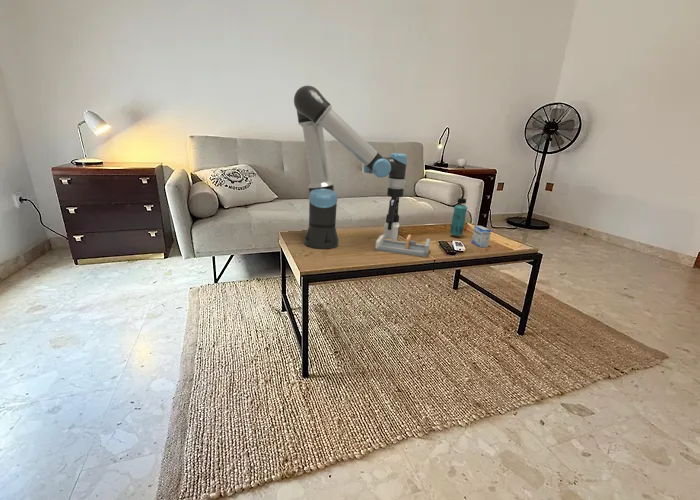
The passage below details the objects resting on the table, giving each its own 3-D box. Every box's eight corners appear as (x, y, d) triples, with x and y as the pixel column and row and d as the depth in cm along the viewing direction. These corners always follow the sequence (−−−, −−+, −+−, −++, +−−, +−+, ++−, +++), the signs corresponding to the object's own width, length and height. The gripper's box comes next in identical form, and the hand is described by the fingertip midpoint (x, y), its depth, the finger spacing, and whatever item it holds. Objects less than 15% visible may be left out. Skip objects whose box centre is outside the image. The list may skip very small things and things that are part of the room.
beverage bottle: (450, 234, 183) (456, 196, 177) (463, 236, 181) (469, 198, 175) (448, 237, 178) (454, 198, 172) (461, 239, 175) (468, 200, 169)
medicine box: (470, 242, 171) (473, 225, 168) (479, 242, 172) (482, 225, 169) (479, 247, 163) (483, 229, 161) (488, 247, 164) (491, 229, 162)
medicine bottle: (397, 241, 165) (400, 216, 161) (382, 239, 166) (384, 215, 162) (398, 237, 171) (401, 213, 168) (384, 235, 172) (386, 212, 169)
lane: (375, 250, 149) (376, 239, 147) (380, 242, 160) (381, 232, 158) (426, 257, 144) (428, 246, 142) (428, 249, 155) (430, 238, 153)
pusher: (405, 250, 147) (406, 239, 146) (407, 245, 155) (408, 234, 153) (414, 251, 146) (415, 240, 145) (416, 246, 154) (417, 235, 152)
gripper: (400, 191, 149) (395, 240, 156) (406, 185, 171) (402, 228, 177) (383, 189, 151) (378, 238, 158) (391, 184, 172) (387, 227, 179)
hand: (391, 233), depth 168 cm, fingers open, 11 cm apart
